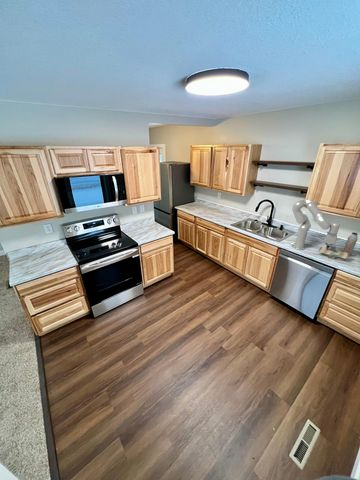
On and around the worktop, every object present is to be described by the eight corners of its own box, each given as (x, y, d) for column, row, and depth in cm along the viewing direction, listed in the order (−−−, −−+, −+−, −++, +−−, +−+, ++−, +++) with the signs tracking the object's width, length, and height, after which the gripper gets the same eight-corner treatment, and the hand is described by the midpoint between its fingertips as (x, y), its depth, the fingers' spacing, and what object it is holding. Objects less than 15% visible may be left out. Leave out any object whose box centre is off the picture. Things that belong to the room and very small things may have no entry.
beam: (317, 255, 226) (319, 248, 222) (318, 252, 230) (320, 246, 226) (345, 262, 211) (348, 255, 208) (345, 259, 216) (348, 253, 212)
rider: (328, 252, 219) (330, 247, 216) (328, 250, 222) (330, 245, 219) (333, 253, 216) (335, 248, 213) (334, 252, 219) (336, 246, 216)
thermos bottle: (348, 257, 219) (357, 235, 207) (340, 254, 226) (349, 232, 213) (351, 255, 223) (361, 233, 210) (343, 252, 229) (352, 231, 216)
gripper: (323, 233, 213) (319, 247, 222) (340, 236, 205) (335, 251, 213) (324, 231, 219) (319, 245, 227) (341, 234, 210) (335, 248, 218)
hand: (327, 248), depth 220 cm, fingers closed
